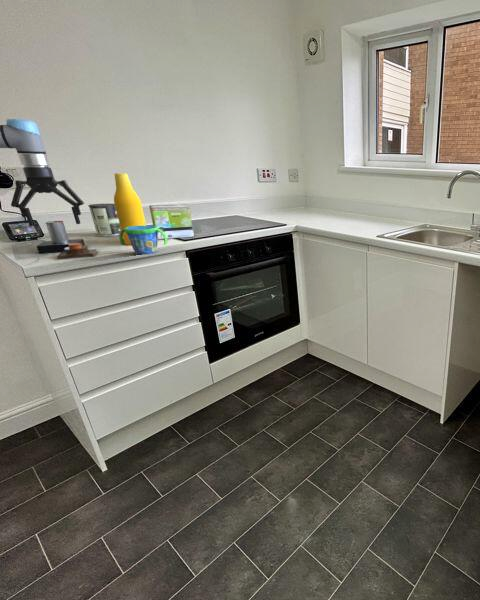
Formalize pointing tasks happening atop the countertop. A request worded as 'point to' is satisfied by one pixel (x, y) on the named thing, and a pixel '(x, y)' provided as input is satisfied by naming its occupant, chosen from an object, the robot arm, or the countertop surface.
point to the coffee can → (105, 219)
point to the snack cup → (143, 238)
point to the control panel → (56, 246)
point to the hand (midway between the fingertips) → (56, 224)
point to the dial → (57, 231)
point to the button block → (77, 253)
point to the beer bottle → (127, 205)
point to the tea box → (172, 220)
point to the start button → (75, 246)
